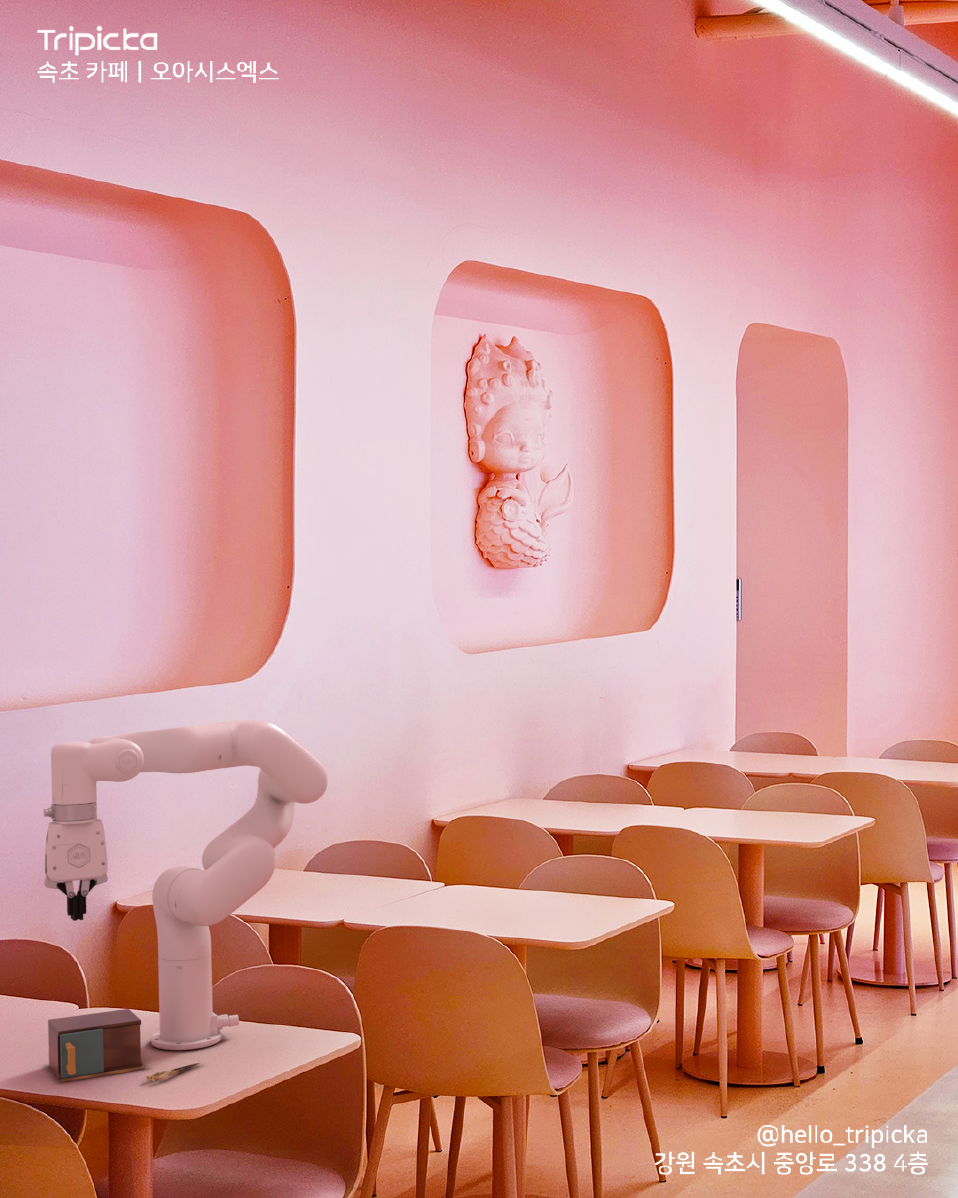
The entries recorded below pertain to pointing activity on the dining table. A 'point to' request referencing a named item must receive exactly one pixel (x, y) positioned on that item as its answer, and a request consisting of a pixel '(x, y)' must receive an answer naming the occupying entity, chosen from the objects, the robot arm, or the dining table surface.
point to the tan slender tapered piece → (169, 1073)
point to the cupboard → (117, 1040)
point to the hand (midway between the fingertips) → (76, 919)
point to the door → (81, 1053)
